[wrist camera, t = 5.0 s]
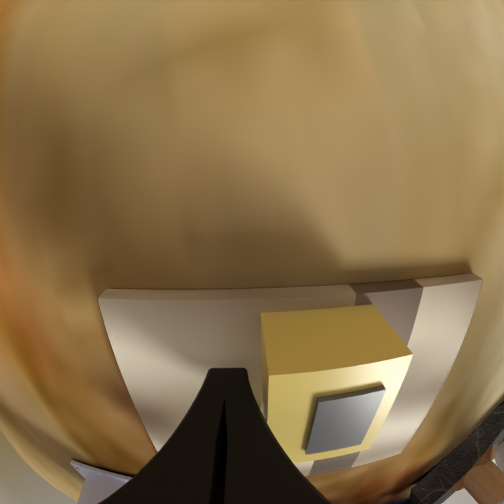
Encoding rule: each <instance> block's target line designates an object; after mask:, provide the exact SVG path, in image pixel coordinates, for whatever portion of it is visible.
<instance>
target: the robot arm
mask: <svg viewBox="0 0 504 504" xmlns="http://www.w3.org/2000/svg"><path fill="white" fill-rule="evenodd" d="M70 464H71V465H72V466H73V467H74V468H75V469H76V470H77V471H78V472H79V473H80V474H81V475H82V476H83V477H84V478H85V482H84V485H83V487H82V490H81V493H80V496H79V500H78V503H77V504H332V503H331V502H330V501H328V500H327V499H326V498H325V497H324V496H323V495H322V494H321V493H320V492H319V491H318V490H317V489H316V488H315V487H314V486H313V485H312V484H311V483H310V482H309V481H308V480H307V479H306V478H305V476H304V475H303V474H302V473H301V472H300V471H299V469H298V468H297V467H296V466H295V465H294V463H293V462H292V461H291V459H290V458H289V457H288V455H287V454H286V453H285V451H284V450H283V448H282V447H281V445H280V444H279V442H278V441H277V439H276V438H275V436H274V434H273V433H272V431H271V429H270V428H269V426H268V424H267V422H266V420H265V418H264V416H263V414H262V412H261V410H260V408H259V406H258V404H257V401H256V399H255V397H254V394H253V391H252V388H251V385H250V382H249V378H248V371H247V369H245V368H211V369H209V370H208V372H207V375H206V378H205V380H204V382H203V384H202V386H201V388H200V390H199V392H198V394H197V396H196V398H195V400H194V401H193V403H192V405H191V407H190V408H189V410H188V412H187V413H186V415H185V416H184V418H183V419H182V421H181V422H180V424H179V425H178V427H177V428H176V430H175V431H174V432H173V434H172V435H171V437H170V438H169V439H168V440H167V442H166V443H165V444H164V445H163V447H162V448H161V449H160V450H159V451H158V452H157V454H156V455H155V456H154V457H153V458H152V459H151V460H150V461H149V462H148V463H147V464H146V465H145V466H144V467H143V468H142V469H141V470H140V471H139V472H138V473H137V474H136V475H135V476H134V477H128V476H124V475H120V474H116V473H112V472H108V471H105V470H101V469H98V468H95V467H91V466H88V465H85V464H82V463H79V462H77V461H74V460H71V463H70ZM498 504H504V499H503V500H502V501H501V502H499V503H498Z"/></svg>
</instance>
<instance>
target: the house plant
mask: <svg viewBox="0 0 504 504" xmlns="http://www.w3.org/2000/svg"><path fill="white" fill-rule="evenodd" d="M494 458H495V461H496V464H497V467H498V468H499V469H501V470H502V471H503V472H504V441H503V442H502V443H501V444H500V445H499V446H498V447H497V450H496V453H495V457H494Z"/></svg>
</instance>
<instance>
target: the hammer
mask: <svg viewBox="0 0 504 504" xmlns="http://www.w3.org/2000/svg"><path fill="white" fill-rule="evenodd" d="M503 438H504V403H503V404H501V405H500V406H498V407H497V408H496V409H495V410H494V412H493V413H492V414H491V415H490V416H489V417H488V418H487V419H486V420H485V421H484V422H483V423H482V424H481V425H480V426H479V427H478V428H477V429H476V430H475V431H474V432H473V433H472V434H471V435H470V436H469V437H468V438H467V439H466V440H465V441H464V442H462V443H461V444H460V445H459V446H458V447H457V448H456V449H454V450H453V451H452V452H451V453H450V454H448V455H447V456H446V457H445V458H444V459H443V460H442V461H441V462H440V463H439V464H438V465H437V466H436V467H435V468H434V469H433V470H432V471H431V472H430V473H428V474H427V475H426V476H425V477H424V478H423V479H422V480H421V481H420V482H419V483H417V484H416V485H415V486H414V487H413V488H412V489H411V493H410V499H408V500H406V501H404V502H402V503H400V504H441V503H443V502H444V501H445V500H446V499H447V498H449V497H450V496H451V495H452V494H453V493H454V492H455V491H458V490H461V489H463V488H465V489H466V490H467V491H468V492H469V493H470V495H471V496H472V497H473V498H474V499H475V500H476V501H477V503H478V504H498V503H499V502H501V501H502V500H503V499H504V472H503V471H502V470H501V469H499V468H498V467H497V466H496V465H495V464H494V463H493V462H492V460H493V459H494V457H495V453H496V450H497V446H498V445H499V443H500V442H501V441H502V440H503Z"/></svg>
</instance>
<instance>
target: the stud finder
mask: <svg viewBox="0 0 504 504" xmlns="http://www.w3.org/2000/svg"><path fill="white" fill-rule="evenodd" d="M260 316H261V412H262V414H263V416H264V418H265V420H266V422H267V424H268V426H269V428H270V429H271V431H272V433H273V434H274V436H275V438H276V439H277V441H278V442H279V444H280V445H281V447H282V448H283V450H284V451H285V453H286V454H287V455H288V457H289V458H290V459H291V461H292V462H293V463H300V462H308V461H314V460H321V459H326V458H332V457H337V456H342V455H346V454H351V453H355V452H359V451H363V450H367V449H370V447H371V445H372V443H373V442H374V440H375V438H376V436H377V434H378V432H379V431H380V429H381V427H382V425H383V423H384V421H385V419H386V417H387V415H388V413H389V411H390V409H391V407H392V405H393V402H394V400H395V398H396V396H397V394H398V391H399V389H400V387H401V384H402V382H403V380H404V377H405V375H406V372H407V370H408V367H409V364H410V362H411V359H412V356H413V353H412V352H411V351H410V349H409V348H408V347H407V345H406V344H405V343H404V342H403V340H402V339H401V338H400V337H399V336H398V334H397V333H396V332H395V331H394V329H393V328H392V327H391V326H390V324H389V323H388V322H387V321H386V320H385V318H384V317H383V316H382V315H381V314H380V312H379V311H378V310H377V309H376V308H375V307H374V305H373V304H370V305H361V306H351V307H340V308H328V309H315V310H301V311H284V312H264V313H260Z"/></svg>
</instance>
